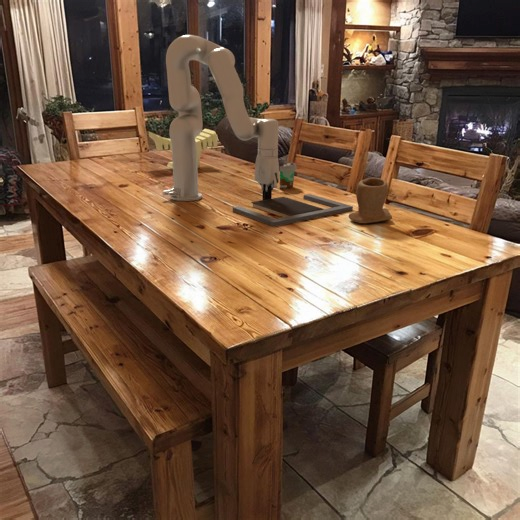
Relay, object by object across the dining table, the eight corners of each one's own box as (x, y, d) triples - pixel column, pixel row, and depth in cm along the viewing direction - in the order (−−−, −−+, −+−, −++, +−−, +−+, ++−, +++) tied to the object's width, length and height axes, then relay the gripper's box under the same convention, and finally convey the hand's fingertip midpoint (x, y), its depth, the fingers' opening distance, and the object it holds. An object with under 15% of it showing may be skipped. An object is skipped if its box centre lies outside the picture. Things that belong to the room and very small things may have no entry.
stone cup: (361, 228, 184) (364, 183, 179) (344, 219, 195) (346, 176, 190) (400, 224, 189) (405, 180, 184) (381, 215, 200) (385, 173, 195)
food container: (293, 190, 235) (294, 167, 232) (279, 189, 237) (279, 166, 233) (297, 184, 247) (298, 162, 243) (283, 183, 248) (284, 161, 245)
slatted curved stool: (160, 172, 269) (158, 135, 263) (150, 167, 282) (148, 131, 276) (217, 168, 282) (217, 132, 276) (206, 162, 295) (205, 128, 289)
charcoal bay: (273, 226, 185) (273, 222, 184) (232, 211, 203) (232, 207, 202) (352, 210, 206) (352, 206, 206) (309, 197, 224) (309, 193, 223)
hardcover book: (290, 221, 193) (290, 215, 192) (251, 207, 210) (251, 201, 209) (324, 214, 202) (324, 208, 201) (284, 202, 219) (284, 196, 219)
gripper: (247, 151, 213) (247, 198, 219) (272, 156, 202) (271, 206, 208) (263, 149, 217) (262, 195, 224) (288, 154, 206) (286, 203, 212)
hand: (266, 200), depth 216 cm, fingers closed
